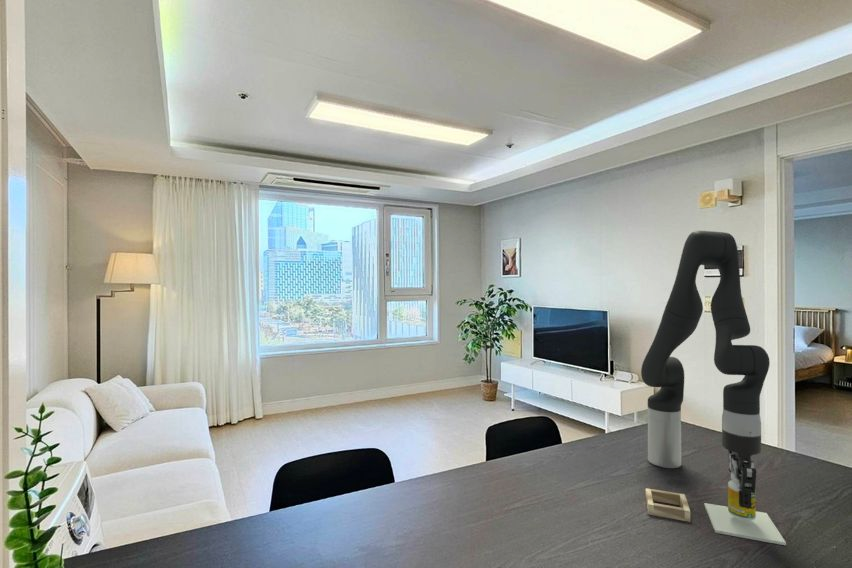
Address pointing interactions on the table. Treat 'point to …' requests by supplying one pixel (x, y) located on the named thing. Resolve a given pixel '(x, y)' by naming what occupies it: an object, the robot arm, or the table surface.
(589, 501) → the table surface
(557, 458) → the table surface
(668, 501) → the collar
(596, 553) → the table surface
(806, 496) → the table surface
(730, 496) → the supplement bottle
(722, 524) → the coaster plate
